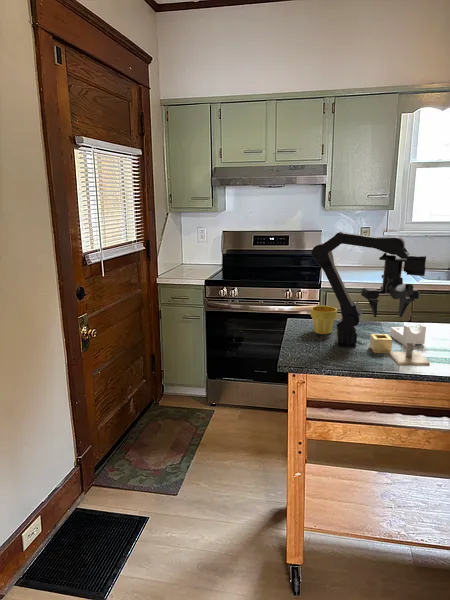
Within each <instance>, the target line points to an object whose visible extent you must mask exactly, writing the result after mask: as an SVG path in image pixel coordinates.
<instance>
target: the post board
mask: <svg viewBox="0 0 450 600" xmlns="http://www.w3.org/2000/svg"><path fill="white" fill-rule="evenodd" d="M405 349H406V350H405V351H391V352H389V353H388V354H389V356H390V357H391V359H393V360H394V361H395V363H396V364H397V365H398V366H399V365H403V366H405V365H407V366H430V365H431V364H430V361H428V360H427V358H426V357H425V356H423V355H422V354H421V352H419V351H417V352H416V351H415V352H414V351H413V350H414V346H413V343H412V342H407V346H406V348H405Z"/></svg>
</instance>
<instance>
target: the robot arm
mask: <svg viewBox="0 0 450 600" xmlns="http://www.w3.org/2000/svg"><path fill="white" fill-rule="evenodd" d="M340 245H349V246H355V247H357V246H358V247H362V248H368V249H374V250H378V251H381V252H383V254H382V255H381V256H380V257H379V258H378V259H379V260H380V261H384V266H383V274H381V279H382V284H381V285H382V286H380V290H378V289H377V288H374V287H363V288H362V289H361V296H362V297H364V298H365V300H367V301H368V303H369V305H370V308H371V311H372V315H373V317H374V318H377V315H378V303H379V301H380V300H379V299H378V298H379V297H391V298H392V299H393V300H398V299H399V305H398V317H399V318H402V317H403V315H404V313H405V311H406V309H407V308H408V306H409V305H410V303H412V302H415V301H416V300H418V299H420V294H421V293H420V292H419V290H418V289H415V288H414V285H413V284H412V283H406V284H404V280H403V277H402V272H404V273H406V275H407V276H416V277H417V276H419V277H425V275H426V274H425V273H426V267H427V264H426V261H427V255H413V254H412V255H411V254H410V253H409V251H408V250H407V248H406V246H405V245H406V243H405V240H404V239H403V238H402V237H400V236H399V235H398V236H397V235H396V236H392V235H391V236H390V235H389V236H380V237H379V236H370V235H365V234H356V233H349V232H344V231H339V232H336V234H334V236H332V237H331V238H330V239H328V240H327V241H325V242H324V243H322V242H321V243H319V244H316V245H315V246H314V247H313V248H312V250H311V255H312V258H313V259H314V261H315V262H316V263H317V265H318V266H319V267H320V268H321V269H322V270H323V273H324V274H325V276H326V278H327V280H328V283H329V285H330V286H331V287H330V288H331V289H332V291H333V292H334V295H335V297H336V299H337V301H338V304H339V307H340V313H341V318H340V319H339V321H338V323H336V339H335V340H334V341H335V343H336V345H337V347H349V348H350V347H352V348H353V347H357V343H358V342H357V340H358V333H357V329H356V326H358V325H359V324H360V322H361V320H362V318H363V314H362V313H363V310H362V308H361V307H360V304H359V301H356V302H354V301H353V300H352V298H351V297H350V295H349V293H348V291H347V288H346V287H345V284H344V282H343V280H342V278H341V276H340V274H339V272H338V270H337V268H336V265H335V259H334V254H333V251H334V250H335V249H336V248H338V247H339V246H340ZM403 263H404V265H403ZM402 268H403V269H402Z"/></svg>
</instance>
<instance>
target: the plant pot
mask: <svg viewBox="0 0 450 600" xmlns="http://www.w3.org/2000/svg"><path fill="white" fill-rule="evenodd" d="M310 317H311V318H312V324H313V330H314V331H313V332H314V333H316V334H319V335H329V333H330V334H331V333H332V331H333V327H334V323H335V320H336V319H337V318H338V309H337V308H336V307H333V306H330V305H315V306H312V307H311V309H310Z"/></svg>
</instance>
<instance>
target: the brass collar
mask: <svg viewBox="0 0 450 600" xmlns="http://www.w3.org/2000/svg"><path fill="white" fill-rule="evenodd" d="M369 335H370V336H369V345H368V347H369V348H371V349H370V350H371V351H372V353H373V352H374V354H389V352H392V348H393V339H392V337H391V336H390V335H389V334H387V333H370V334H369Z"/></svg>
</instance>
